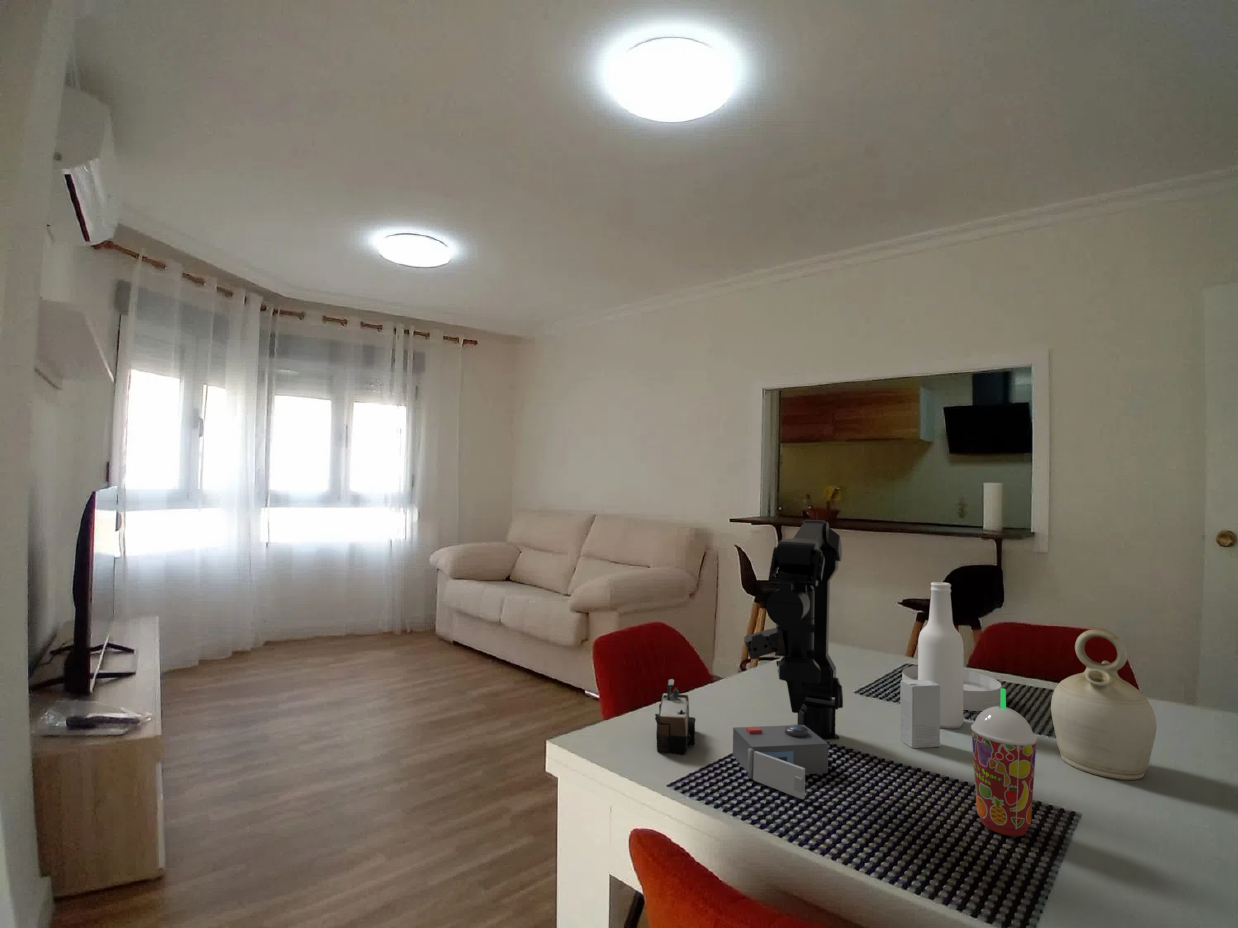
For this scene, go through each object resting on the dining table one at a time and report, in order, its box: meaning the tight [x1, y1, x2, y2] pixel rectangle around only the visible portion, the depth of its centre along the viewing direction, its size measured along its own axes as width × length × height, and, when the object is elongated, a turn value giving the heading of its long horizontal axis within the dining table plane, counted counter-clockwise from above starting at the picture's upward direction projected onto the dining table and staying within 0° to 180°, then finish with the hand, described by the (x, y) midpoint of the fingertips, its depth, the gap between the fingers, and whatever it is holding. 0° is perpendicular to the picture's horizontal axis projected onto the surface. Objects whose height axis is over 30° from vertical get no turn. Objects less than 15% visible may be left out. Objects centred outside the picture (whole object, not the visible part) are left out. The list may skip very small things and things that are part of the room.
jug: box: [1050, 628, 1158, 781], centre depth 116 cm, size 15×16×25 cm
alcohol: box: [917, 581, 965, 730], centre depth 137 cm, size 9×9×30 cm
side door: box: [747, 748, 806, 800], centre depth 102 cm, size 10×2×5 cm, turn 45°
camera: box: [654, 678, 696, 756], centre depth 122 cm, size 15×8×10 cm, turn 171°
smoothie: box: [970, 688, 1038, 837], centre depth 93 cm, size 8×8×20 cm
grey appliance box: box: [732, 724, 829, 775], centre depth 112 cm, size 14×9×6 cm, turn 100°
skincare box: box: [899, 679, 941, 749], centre depth 124 cm, size 6×4×12 cm
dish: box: [901, 665, 1003, 711], centre depth 155 cm, size 22×22×5 cm
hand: (794, 710), depth 105 cm, fingers closed
